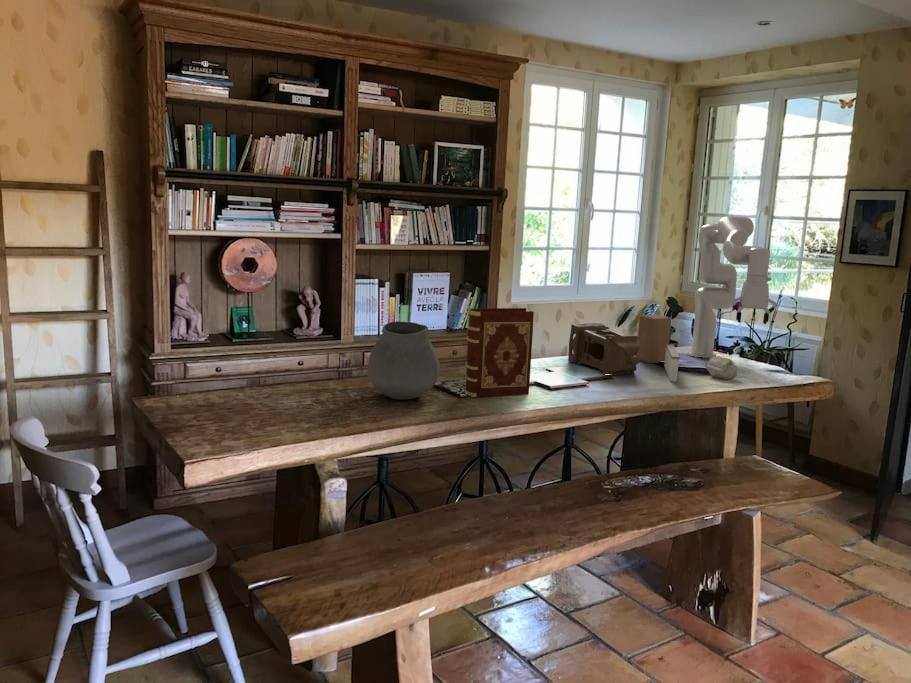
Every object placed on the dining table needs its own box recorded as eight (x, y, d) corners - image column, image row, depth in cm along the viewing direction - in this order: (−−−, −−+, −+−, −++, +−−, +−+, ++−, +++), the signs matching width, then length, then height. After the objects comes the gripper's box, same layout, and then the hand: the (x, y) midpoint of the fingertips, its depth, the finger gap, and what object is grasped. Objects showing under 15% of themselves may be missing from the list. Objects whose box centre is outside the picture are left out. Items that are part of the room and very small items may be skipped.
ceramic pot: (357, 403, 243) (358, 328, 238) (378, 385, 266) (379, 316, 261) (430, 410, 238) (432, 334, 233) (444, 391, 262) (447, 321, 257)
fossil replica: (735, 383, 292) (736, 379, 301) (739, 362, 291) (740, 359, 300) (703, 376, 296) (705, 373, 306) (708, 356, 295) (709, 353, 304)
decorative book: (468, 397, 255) (472, 311, 249) (461, 391, 262) (465, 308, 256) (529, 395, 261) (534, 311, 255) (521, 389, 268) (525, 307, 262)
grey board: (663, 366, 316) (665, 343, 314) (670, 366, 315) (673, 344, 313) (669, 380, 290) (671, 356, 288) (677, 381, 289) (679, 357, 287)
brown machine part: (650, 385, 292) (660, 340, 290) (615, 383, 284) (625, 336, 281) (596, 363, 323) (605, 322, 320) (563, 361, 315) (572, 318, 312)
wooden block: (634, 359, 327) (638, 314, 323) (652, 357, 331) (657, 313, 327) (649, 364, 318) (653, 318, 314) (667, 362, 322) (672, 317, 318)
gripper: (778, 280, 290) (773, 323, 293) (731, 277, 294) (727, 320, 297) (782, 281, 283) (777, 325, 286) (734, 279, 287) (730, 322, 290)
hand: (751, 322), depth 291 cm, fingers open, 9 cm apart
